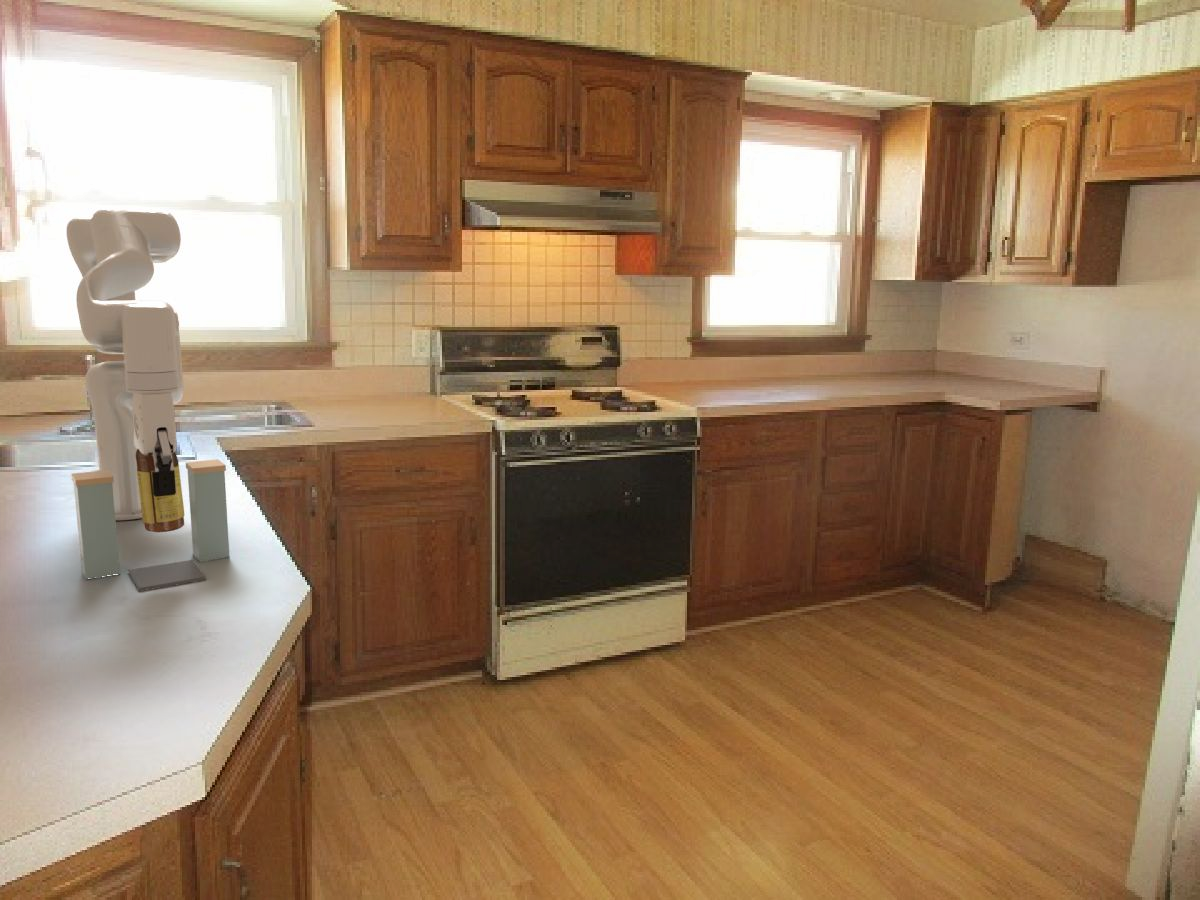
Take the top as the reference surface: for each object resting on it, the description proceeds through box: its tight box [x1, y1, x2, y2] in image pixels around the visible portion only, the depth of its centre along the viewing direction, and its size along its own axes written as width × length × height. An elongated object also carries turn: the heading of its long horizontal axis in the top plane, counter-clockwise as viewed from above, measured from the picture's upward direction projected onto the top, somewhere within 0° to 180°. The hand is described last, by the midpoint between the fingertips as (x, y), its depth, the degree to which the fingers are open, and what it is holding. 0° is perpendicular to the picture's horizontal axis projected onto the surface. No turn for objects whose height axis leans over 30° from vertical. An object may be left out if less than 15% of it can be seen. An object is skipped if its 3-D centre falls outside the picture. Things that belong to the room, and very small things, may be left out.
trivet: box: [127, 559, 207, 592], centre depth 147 cm, size 10×10×1 cm
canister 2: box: [185, 458, 230, 562], centre depth 156 cm, size 5×5×17 cm
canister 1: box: [70, 470, 121, 580], centre depth 146 cm, size 5×5×17 cm
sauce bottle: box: [136, 438, 185, 533], centre depth 143 cm, size 6×6×20 cm
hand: (160, 489), depth 144 cm, fingers closed on sauce bottle, 6 cm apart
